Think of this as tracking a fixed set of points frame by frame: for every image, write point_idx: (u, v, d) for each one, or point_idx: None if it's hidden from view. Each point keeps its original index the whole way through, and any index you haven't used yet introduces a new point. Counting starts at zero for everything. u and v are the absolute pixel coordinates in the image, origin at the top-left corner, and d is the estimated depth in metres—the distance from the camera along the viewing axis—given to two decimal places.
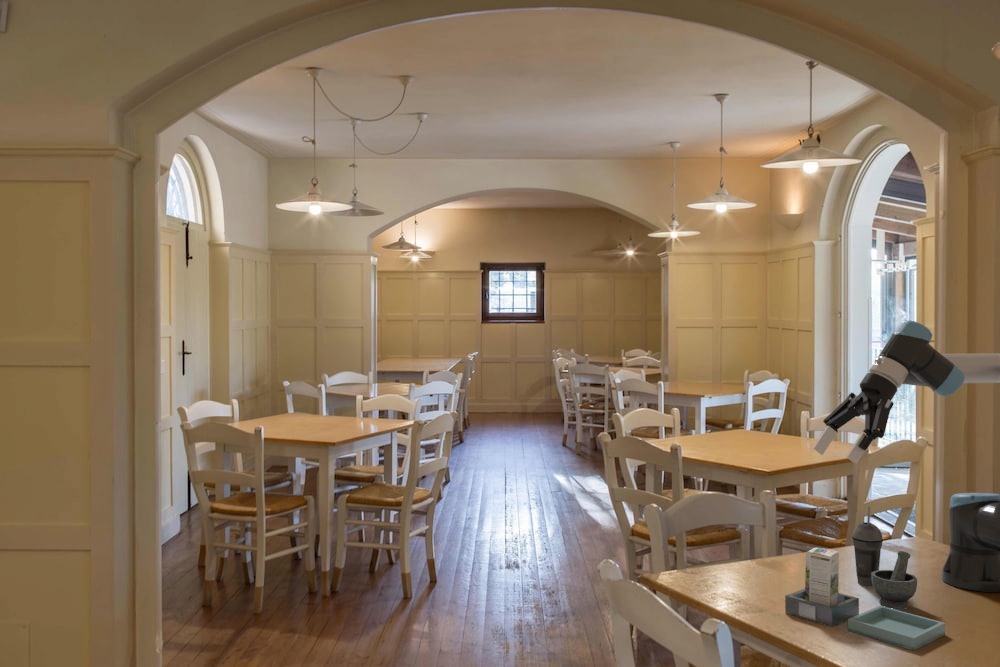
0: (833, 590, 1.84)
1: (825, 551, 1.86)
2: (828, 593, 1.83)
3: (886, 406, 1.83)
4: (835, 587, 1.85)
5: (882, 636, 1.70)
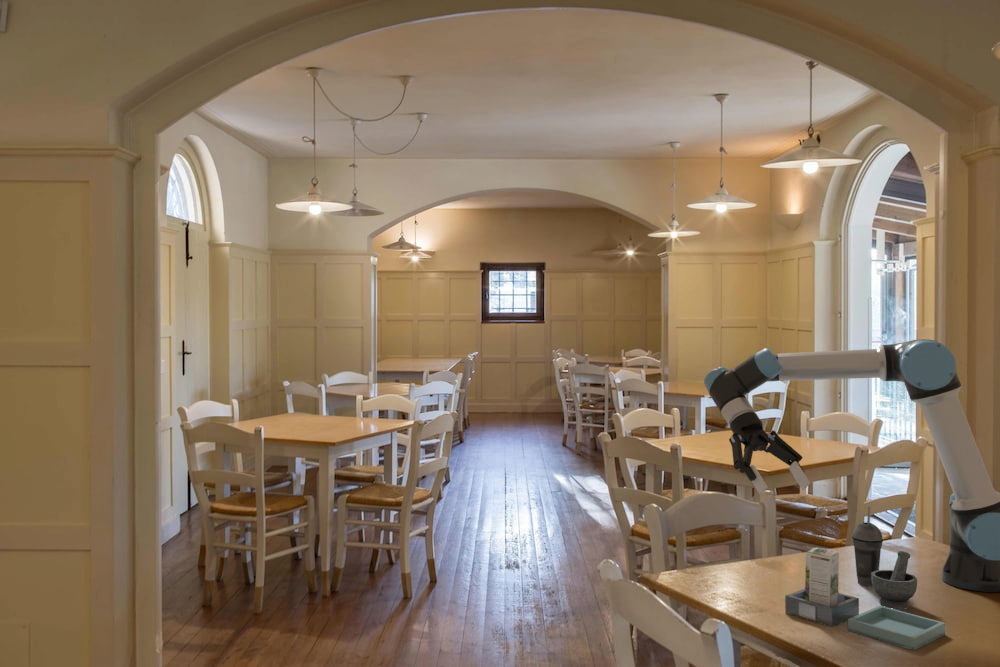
0: (833, 590, 1.84)
1: (825, 551, 1.86)
2: (828, 593, 1.83)
3: (733, 441, 2.03)
4: (835, 587, 1.85)
5: (882, 636, 1.70)
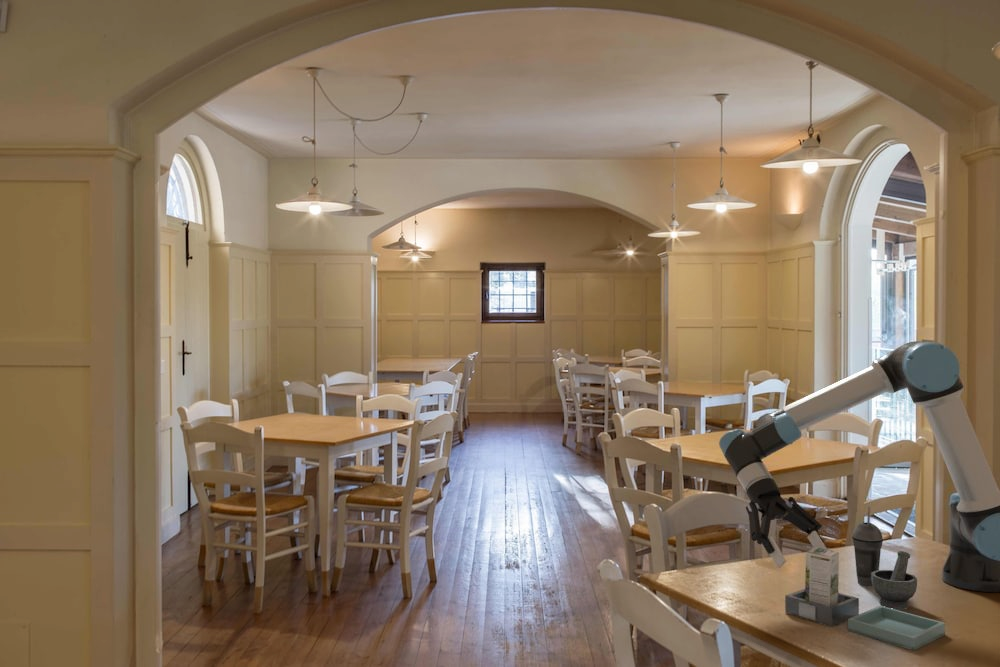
0: (833, 590, 1.84)
1: (825, 551, 1.86)
2: (828, 593, 1.83)
3: (750, 510, 1.96)
4: (835, 587, 1.85)
5: (882, 636, 1.70)
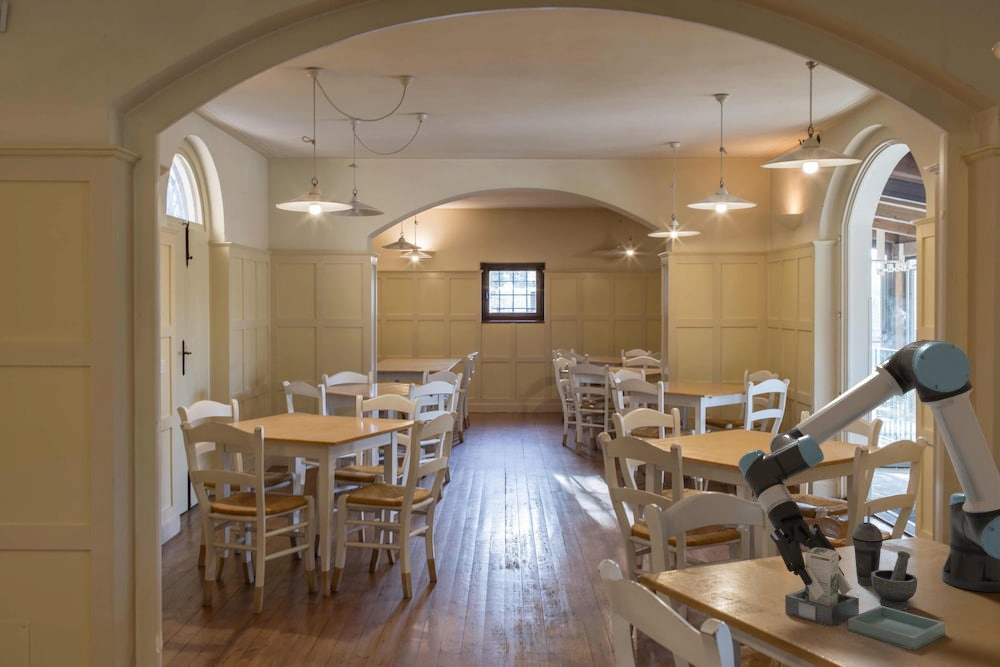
0: (833, 590, 1.84)
1: (825, 551, 1.86)
2: (828, 593, 1.83)
3: (777, 538, 1.90)
4: (835, 587, 1.85)
5: (882, 636, 1.70)
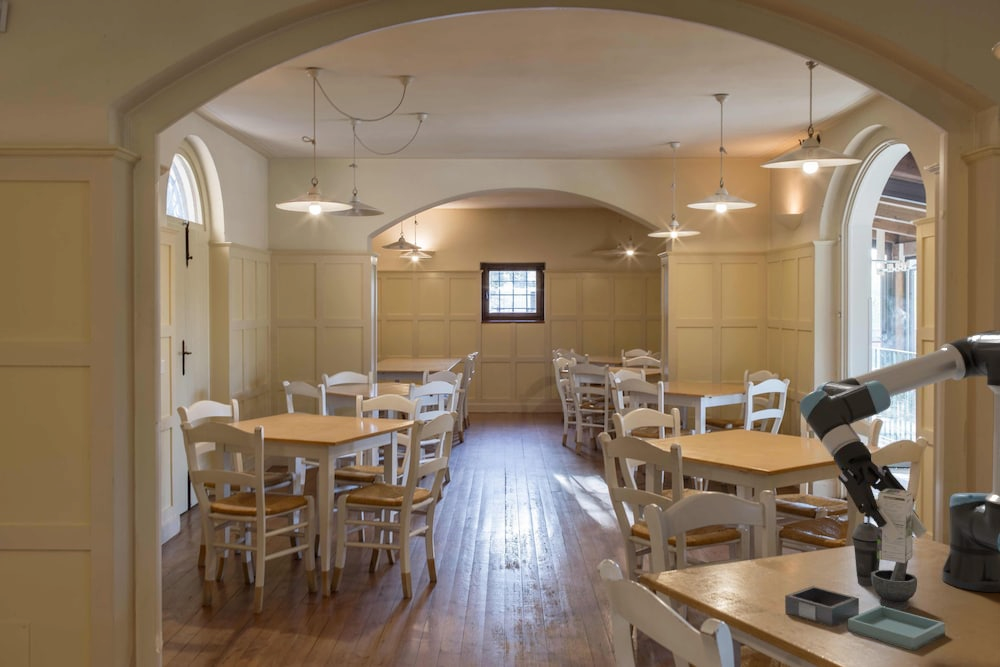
0: (908, 532, 1.73)
1: (898, 491, 1.75)
2: (903, 535, 1.71)
3: (846, 480, 1.79)
4: (910, 529, 1.74)
5: (882, 636, 1.70)
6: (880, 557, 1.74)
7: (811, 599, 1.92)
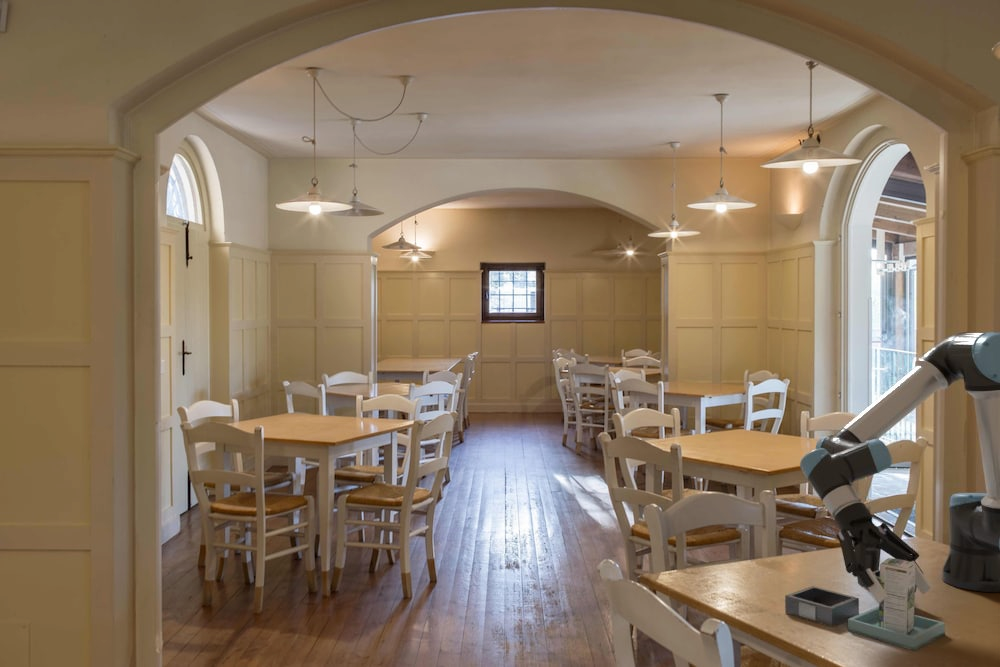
0: (910, 604, 1.73)
1: (900, 562, 1.75)
2: (905, 607, 1.71)
3: (842, 538, 1.79)
4: (912, 601, 1.74)
5: (882, 636, 1.70)
6: None
7: (811, 599, 1.92)
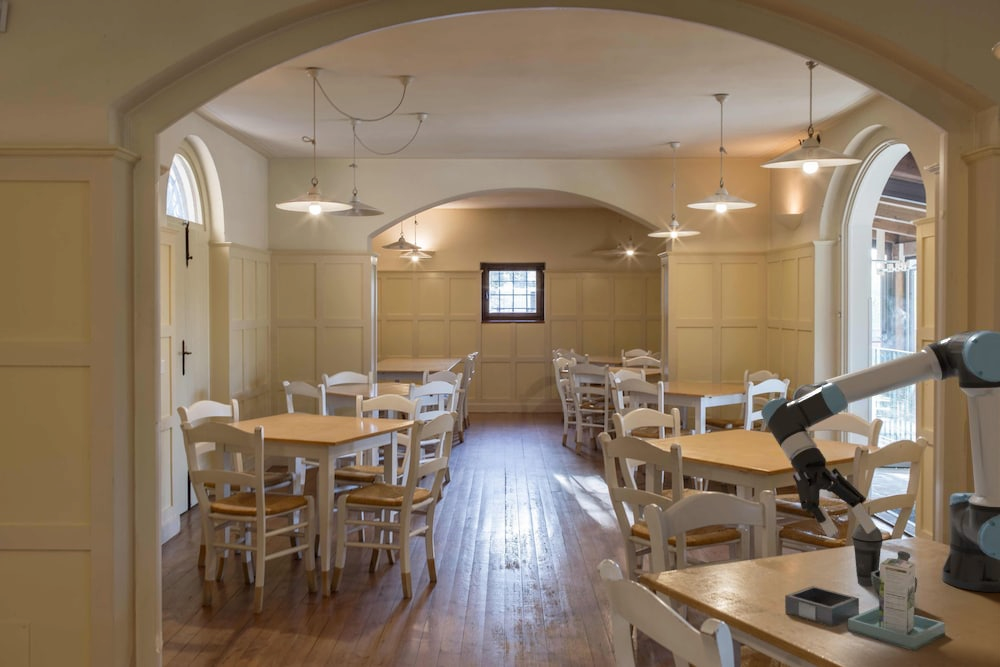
0: (910, 604, 1.73)
1: (900, 562, 1.75)
2: (905, 607, 1.71)
3: (799, 478, 1.91)
4: (912, 601, 1.74)
5: (882, 636, 1.70)
6: None
7: (811, 599, 1.92)
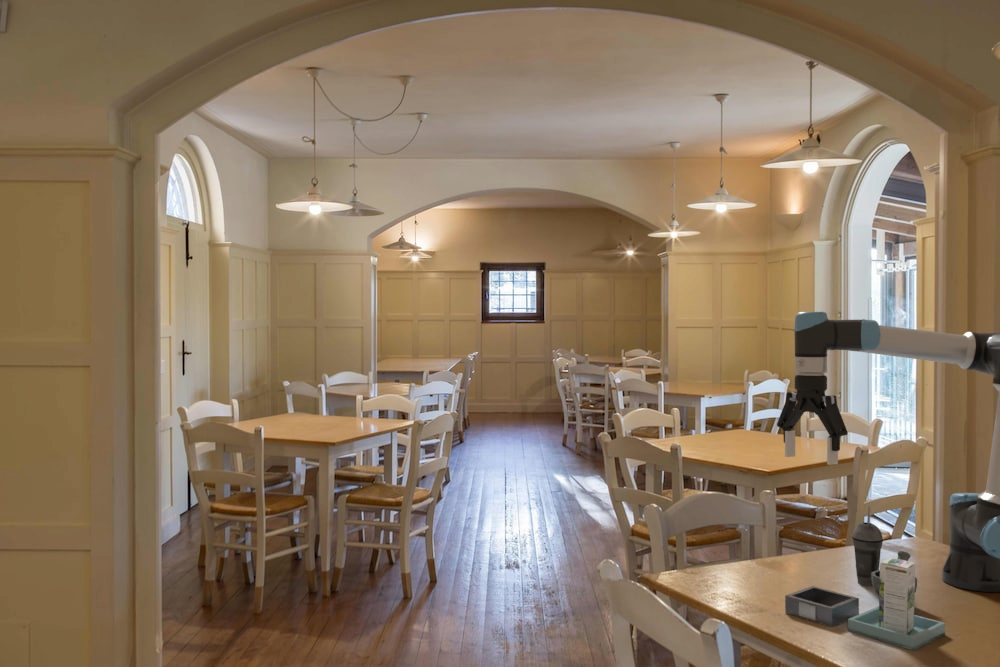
0: (910, 604, 1.73)
1: (900, 562, 1.75)
2: (905, 607, 1.71)
3: (832, 403, 1.95)
4: (912, 601, 1.74)
5: (882, 636, 1.70)
6: None
7: (811, 599, 1.92)
